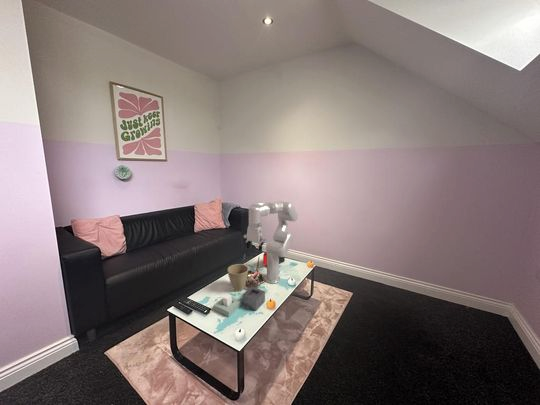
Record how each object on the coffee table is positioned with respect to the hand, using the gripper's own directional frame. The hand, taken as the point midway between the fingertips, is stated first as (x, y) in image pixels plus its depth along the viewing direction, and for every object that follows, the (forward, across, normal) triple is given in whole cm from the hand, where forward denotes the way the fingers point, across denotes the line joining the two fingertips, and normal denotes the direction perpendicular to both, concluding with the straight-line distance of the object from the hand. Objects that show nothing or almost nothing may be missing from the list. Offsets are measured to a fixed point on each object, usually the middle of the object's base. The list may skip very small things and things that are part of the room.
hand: (254, 249), depth 140 cm
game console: (+35, +9, -49) cm, 60 cm away
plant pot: (+34, +14, 0) cm, 37 cm away
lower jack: (+34, +7, +20) cm, 40 cm away
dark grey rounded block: (+34, -5, +8) cm, 36 cm away
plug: (+33, +7, +20) cm, 39 cm away
